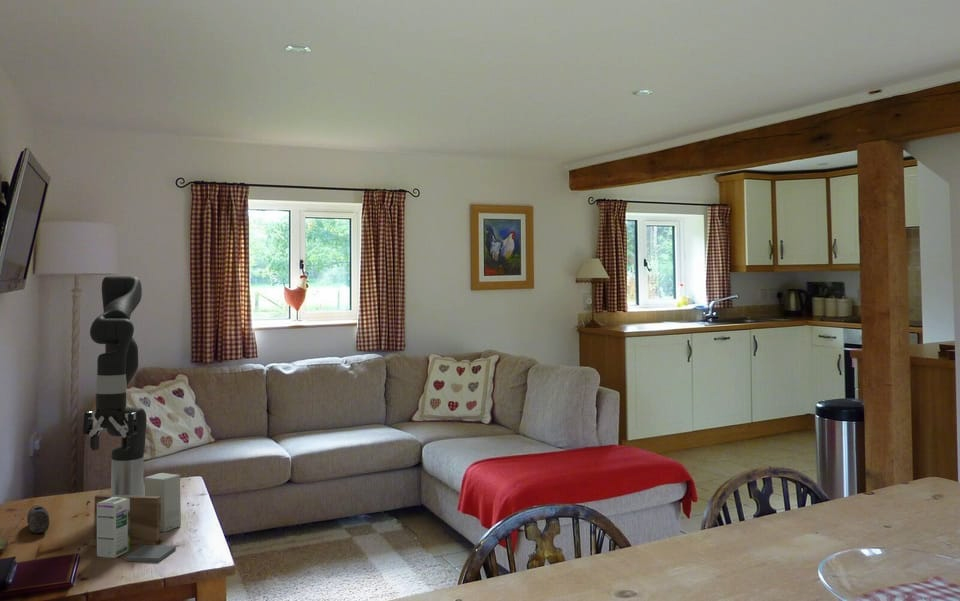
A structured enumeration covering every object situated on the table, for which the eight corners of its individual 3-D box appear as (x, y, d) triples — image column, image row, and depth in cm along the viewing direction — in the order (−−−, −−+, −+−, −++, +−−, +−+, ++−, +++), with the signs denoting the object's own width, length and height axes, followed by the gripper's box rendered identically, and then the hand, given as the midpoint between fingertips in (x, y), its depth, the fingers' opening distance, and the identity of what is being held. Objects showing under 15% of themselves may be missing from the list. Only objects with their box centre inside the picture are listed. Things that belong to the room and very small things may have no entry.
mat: (143, 548, 193) (143, 545, 193) (175, 549, 192) (175, 546, 192) (125, 560, 184) (125, 557, 184) (158, 562, 183) (158, 558, 183)
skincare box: (181, 526, 212) (182, 474, 212) (163, 533, 206) (163, 479, 206) (161, 522, 215) (162, 471, 215) (142, 528, 209) (143, 476, 209)
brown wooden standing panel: (102, 538, 201) (103, 492, 201) (163, 540, 200) (164, 494, 200) (89, 545, 195) (90, 498, 195) (152, 547, 194) (153, 500, 194)
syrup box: (115, 558, 185) (116, 503, 185) (95, 556, 187) (96, 501, 187) (130, 551, 191) (130, 497, 191) (111, 549, 192) (111, 496, 192)
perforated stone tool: (25, 524, 212) (25, 501, 212) (45, 521, 216) (46, 498, 216) (28, 538, 200) (28, 513, 200) (50, 534, 203) (50, 510, 203)
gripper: (143, 390, 197) (142, 448, 197) (94, 389, 198) (93, 447, 198) (128, 393, 190) (127, 453, 190) (77, 392, 191) (76, 452, 191)
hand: (110, 450), depth 194 cm, fingers open, 8 cm apart
